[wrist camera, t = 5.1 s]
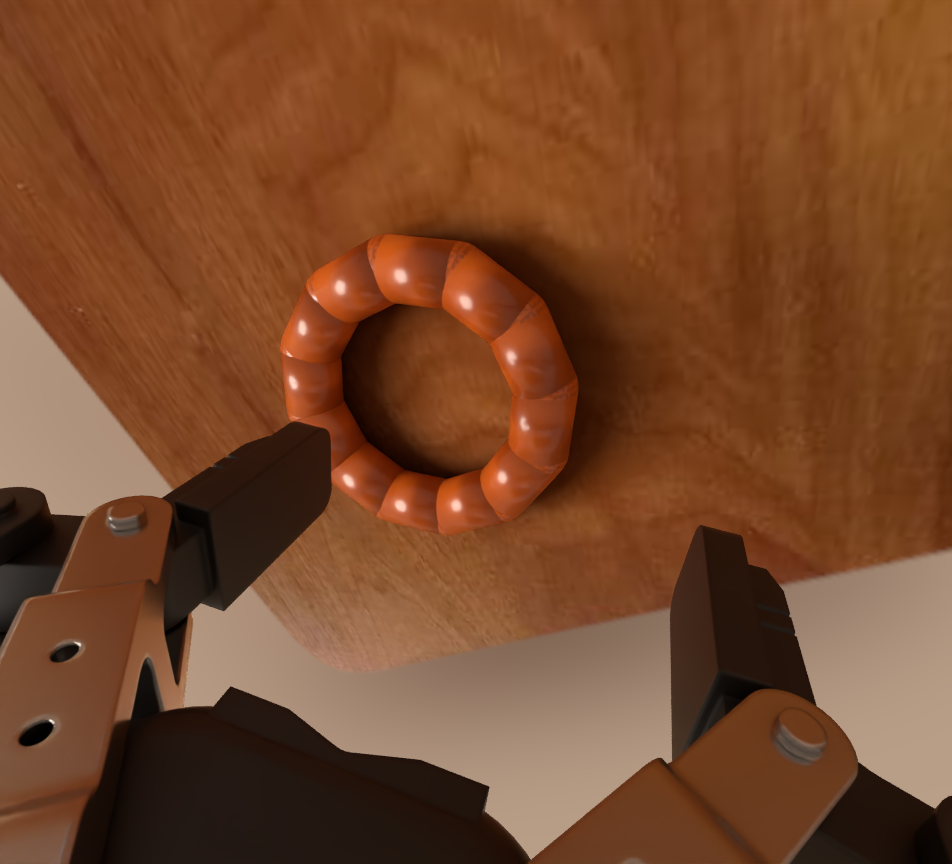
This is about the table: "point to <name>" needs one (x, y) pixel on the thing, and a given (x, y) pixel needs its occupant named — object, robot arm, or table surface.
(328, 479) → the robot arm
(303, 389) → the ring
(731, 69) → the table surface
